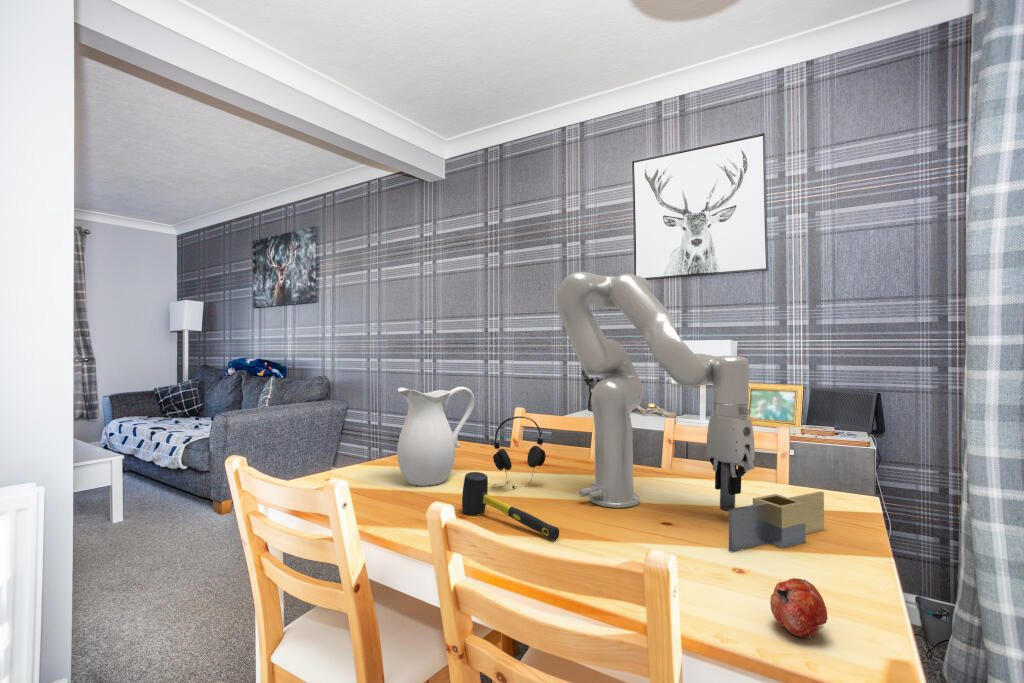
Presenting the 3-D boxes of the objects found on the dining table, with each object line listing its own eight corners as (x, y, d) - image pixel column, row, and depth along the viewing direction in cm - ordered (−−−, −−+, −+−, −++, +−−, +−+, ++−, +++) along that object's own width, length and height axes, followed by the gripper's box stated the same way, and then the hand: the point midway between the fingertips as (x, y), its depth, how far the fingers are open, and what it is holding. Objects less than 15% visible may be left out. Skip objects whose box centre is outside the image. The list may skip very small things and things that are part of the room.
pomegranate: (793, 628, 78) (744, 592, 77) (824, 591, 77) (775, 554, 76) (825, 664, 70) (771, 625, 69) (860, 623, 70) (806, 583, 69)
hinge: (744, 558, 97) (744, 515, 97) (717, 545, 103) (716, 505, 103) (837, 534, 108) (837, 496, 108) (807, 523, 114) (807, 487, 114)
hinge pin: (727, 513, 114) (729, 459, 114) (712, 507, 118) (713, 455, 118) (742, 511, 116) (743, 458, 116) (726, 504, 120) (728, 453, 120)
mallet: (566, 538, 109) (566, 492, 109) (547, 546, 104) (547, 498, 104) (475, 507, 129) (475, 468, 129) (457, 513, 125) (456, 473, 125)
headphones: (533, 478, 154) (532, 411, 154) (549, 488, 144) (548, 416, 144) (485, 484, 149) (484, 414, 149) (497, 494, 139) (497, 420, 138)
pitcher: (404, 492, 142) (402, 391, 142) (392, 477, 158) (391, 386, 157) (485, 481, 152) (484, 386, 152) (467, 468, 167) (466, 382, 167)
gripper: (773, 415, 111) (770, 500, 111) (714, 404, 126) (712, 479, 126) (747, 417, 108) (745, 504, 108) (690, 406, 123) (688, 483, 123)
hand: (727, 490), depth 117 cm, fingers closed on hinge pin, 3 cm apart
